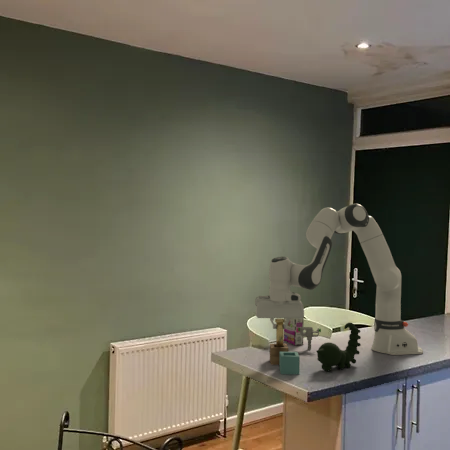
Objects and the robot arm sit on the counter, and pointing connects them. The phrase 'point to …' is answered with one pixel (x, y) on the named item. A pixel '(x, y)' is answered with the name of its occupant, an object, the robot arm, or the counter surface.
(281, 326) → the lock pin
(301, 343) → the candy bar box
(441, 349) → the counter surface
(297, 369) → the socket block
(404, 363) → the counter surface
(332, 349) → the toy figurine
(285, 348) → the pin mount
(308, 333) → the mechanical component
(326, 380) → the counter surface
